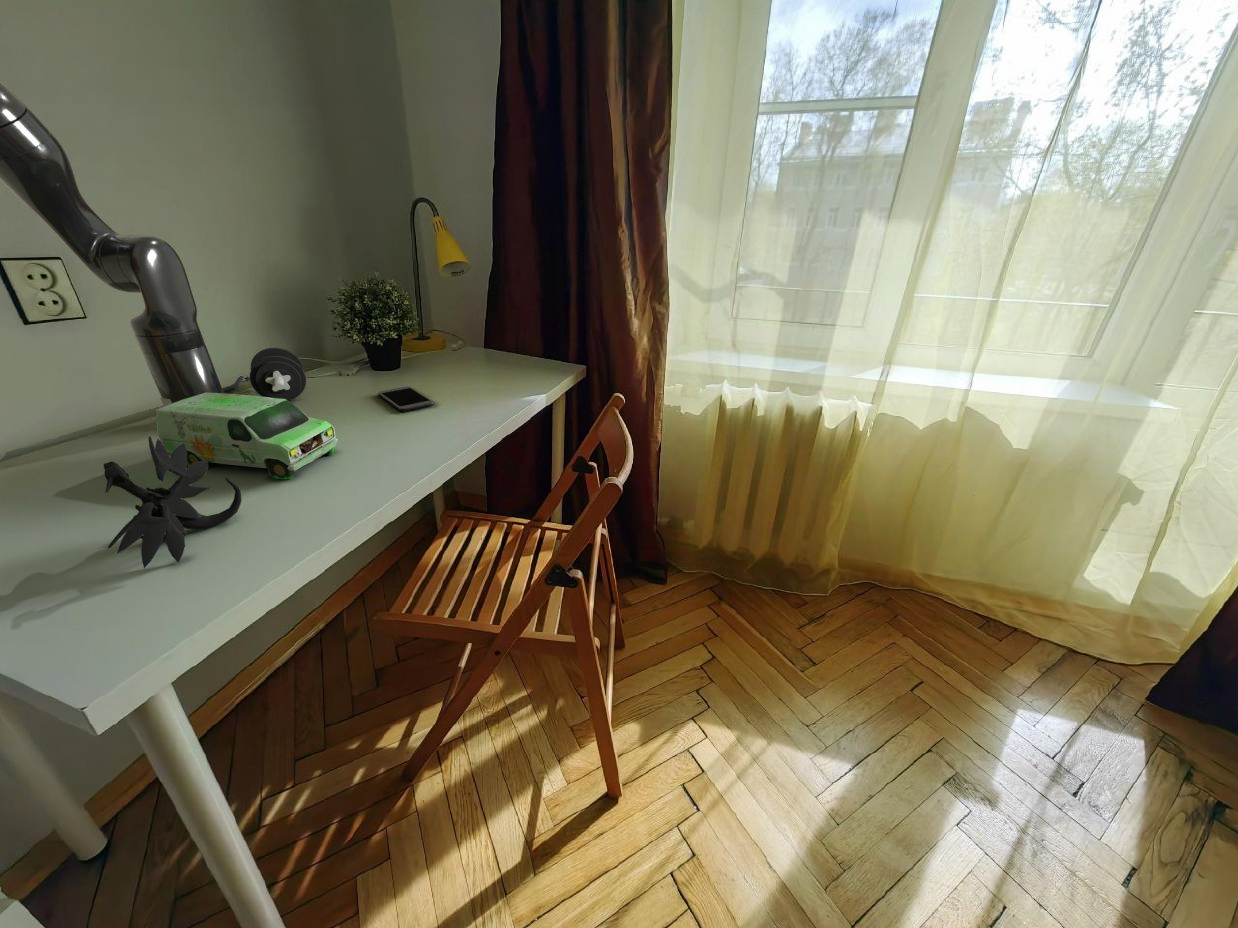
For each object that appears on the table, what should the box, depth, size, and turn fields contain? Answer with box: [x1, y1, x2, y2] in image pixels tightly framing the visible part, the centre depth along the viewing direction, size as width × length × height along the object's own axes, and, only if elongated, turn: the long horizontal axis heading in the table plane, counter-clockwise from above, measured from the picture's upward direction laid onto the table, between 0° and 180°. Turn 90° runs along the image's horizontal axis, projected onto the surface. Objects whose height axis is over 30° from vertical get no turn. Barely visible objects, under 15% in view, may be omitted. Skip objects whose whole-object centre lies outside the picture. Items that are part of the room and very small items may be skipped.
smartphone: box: [377, 386, 435, 412], centre depth 108 cm, size 7×15×1 cm, turn 42°
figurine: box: [103, 435, 242, 569], centre depth 59 cm, size 16×13×11 cm
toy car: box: [155, 393, 339, 480], centre depth 80 cm, size 11×25×10 cm, turn 78°
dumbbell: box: [249, 347, 307, 402], centre depth 108 cm, size 22×10×10 cm, turn 33°
